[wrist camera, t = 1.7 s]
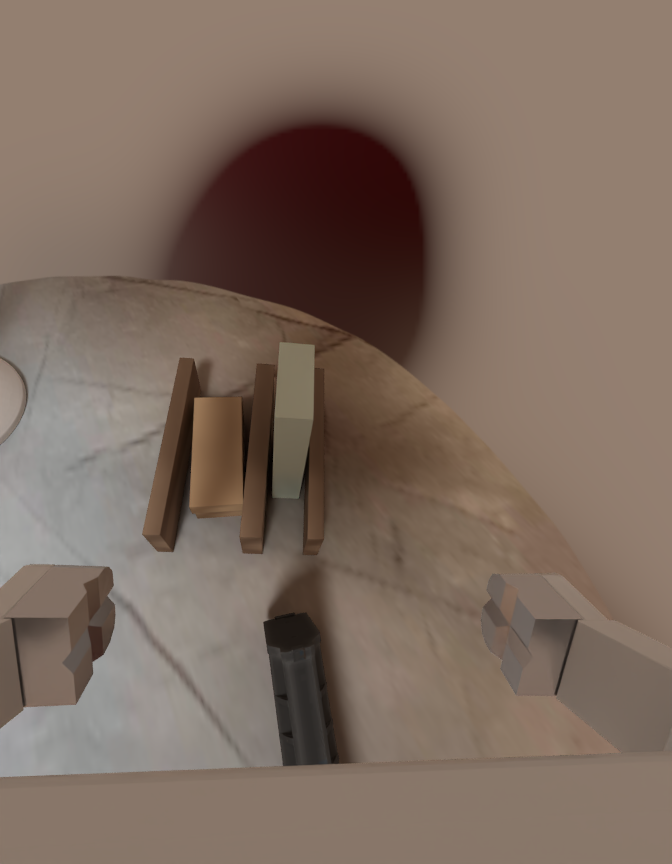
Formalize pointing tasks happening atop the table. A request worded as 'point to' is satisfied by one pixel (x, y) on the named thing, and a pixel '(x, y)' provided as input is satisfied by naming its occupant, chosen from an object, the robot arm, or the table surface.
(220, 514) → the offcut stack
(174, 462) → the walnut rack
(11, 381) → the candlestick
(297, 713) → the magazine
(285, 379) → the tall panel
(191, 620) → the table surface
